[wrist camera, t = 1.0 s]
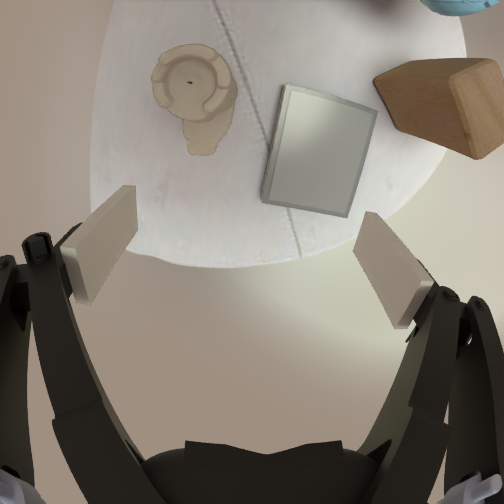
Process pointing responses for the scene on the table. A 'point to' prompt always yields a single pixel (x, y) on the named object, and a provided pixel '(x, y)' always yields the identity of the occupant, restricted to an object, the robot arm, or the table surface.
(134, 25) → the table surface
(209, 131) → the candle
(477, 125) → the wooden block
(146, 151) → the table surface
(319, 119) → the grey flat block
